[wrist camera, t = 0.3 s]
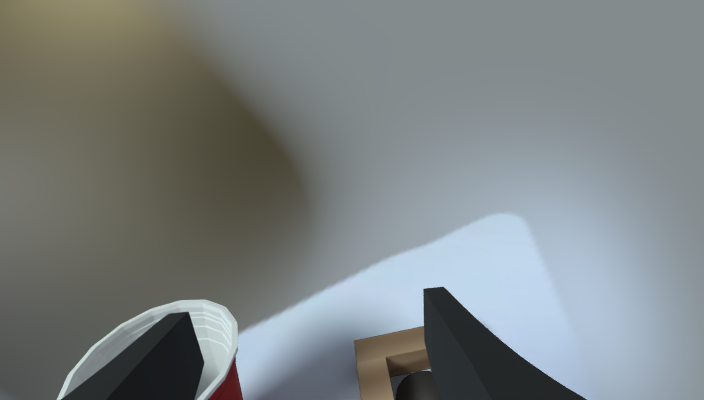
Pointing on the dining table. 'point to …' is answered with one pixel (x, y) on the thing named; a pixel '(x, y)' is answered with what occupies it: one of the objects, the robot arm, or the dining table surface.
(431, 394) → the deck
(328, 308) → the dining table surface
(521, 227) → the dining table surface
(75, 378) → the plastic cup
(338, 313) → the dining table surface
